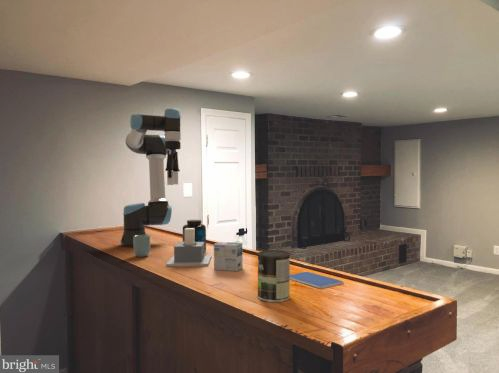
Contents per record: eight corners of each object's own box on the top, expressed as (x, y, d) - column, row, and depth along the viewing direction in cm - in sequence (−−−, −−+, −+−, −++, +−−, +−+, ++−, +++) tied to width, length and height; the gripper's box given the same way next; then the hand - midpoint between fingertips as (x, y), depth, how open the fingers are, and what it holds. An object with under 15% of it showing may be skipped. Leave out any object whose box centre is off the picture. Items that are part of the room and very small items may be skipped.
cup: (145, 258, 183) (145, 237, 183) (130, 257, 185) (130, 236, 184) (153, 255, 191) (152, 234, 190) (138, 254, 192) (138, 234, 192)
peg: (186, 258, 177) (185, 228, 177) (194, 258, 177) (194, 228, 177) (184, 260, 173) (184, 229, 173) (193, 260, 173) (193, 229, 173)
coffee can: (259, 303, 117) (259, 256, 117) (256, 293, 127) (256, 250, 127) (293, 302, 118) (293, 256, 117) (286, 292, 128) (286, 249, 128)
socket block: (173, 257, 184) (173, 241, 184) (211, 257, 184) (211, 240, 184) (165, 266, 166) (165, 247, 166) (207, 266, 166) (207, 247, 166)
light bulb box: (243, 268, 163) (243, 242, 162) (237, 271, 156) (237, 245, 156) (219, 266, 166) (219, 241, 166) (213, 269, 160) (213, 243, 160)
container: (178, 252, 196) (178, 221, 195) (190, 249, 207) (190, 218, 206) (198, 254, 191) (198, 222, 191) (210, 250, 202) (210, 219, 202)
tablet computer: (283, 278, 147) (283, 275, 147) (307, 274, 154) (307, 270, 154) (320, 290, 131) (320, 287, 131) (344, 284, 139) (344, 281, 139)
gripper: (169, 143, 200) (170, 184, 200) (159, 138, 175) (159, 185, 175) (184, 143, 200) (184, 184, 201) (175, 138, 175) (176, 185, 176)
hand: (172, 184), depth 188 cm, fingers open, 13 cm apart
